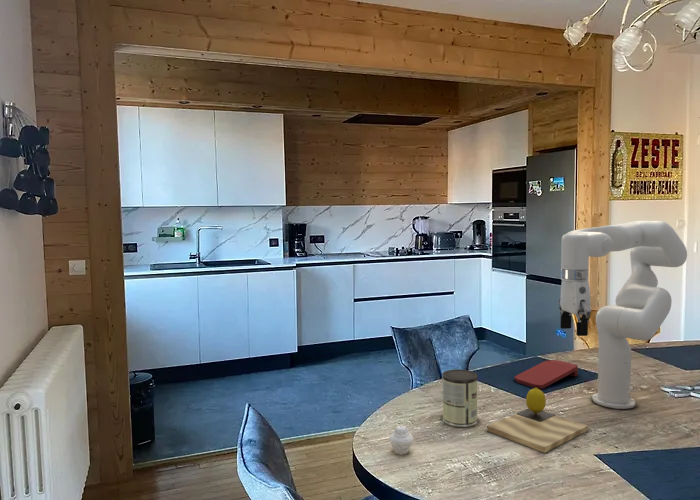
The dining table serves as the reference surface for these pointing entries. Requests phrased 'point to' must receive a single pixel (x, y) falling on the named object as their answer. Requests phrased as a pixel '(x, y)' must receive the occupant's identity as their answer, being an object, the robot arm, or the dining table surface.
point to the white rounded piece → (401, 440)
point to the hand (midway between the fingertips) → (573, 331)
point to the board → (537, 429)
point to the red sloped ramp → (546, 373)
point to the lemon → (535, 400)
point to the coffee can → (460, 398)
